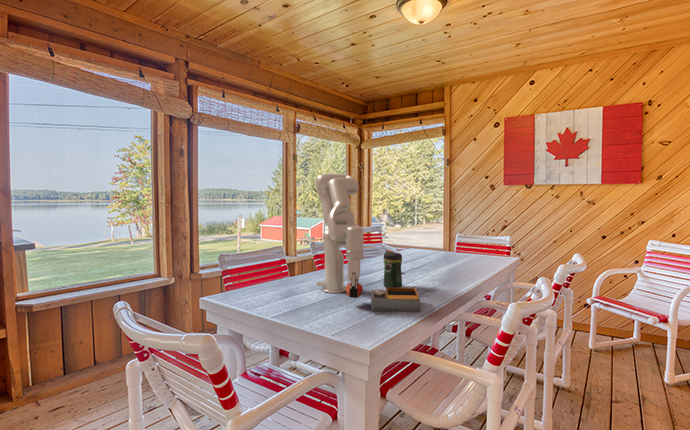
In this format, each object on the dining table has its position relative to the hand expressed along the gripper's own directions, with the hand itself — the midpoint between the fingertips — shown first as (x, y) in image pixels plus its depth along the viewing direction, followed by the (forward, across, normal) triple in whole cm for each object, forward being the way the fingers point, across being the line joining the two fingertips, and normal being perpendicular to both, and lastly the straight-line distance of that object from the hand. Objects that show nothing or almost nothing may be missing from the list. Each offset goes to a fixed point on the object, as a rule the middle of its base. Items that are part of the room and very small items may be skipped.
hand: (354, 294), depth 152 cm
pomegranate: (+2, 0, 0) cm, 2 cm away
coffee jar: (+6, -32, +19) cm, 37 cm away
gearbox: (+4, +1, +18) cm, 18 cm away
